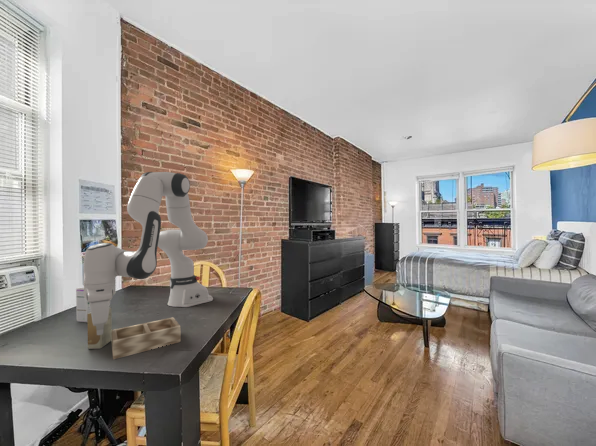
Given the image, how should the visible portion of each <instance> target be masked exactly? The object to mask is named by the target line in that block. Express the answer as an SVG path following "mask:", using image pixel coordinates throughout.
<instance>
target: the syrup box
mask: <svg viewBox="0 0 596 446" xmlns="http://www.w3.org/2000/svg"><path fill="white" fill-rule="evenodd" d="M75 292H76V294H75V295H76V296H75V299H76V300H75V302H76V305H75V306H76V308H75V309H76V322H79V323H80V322H82V323H88V320H87V313H89V312H91V309H90V304H89V302H88V301H87V299H86V298H84V286H81V287H77V288H76V289H75Z"/></svg>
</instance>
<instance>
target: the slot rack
mask: <svg viewBox="0 0 596 446" xmlns="http://www.w3.org/2000/svg"><path fill="white" fill-rule="evenodd" d="M181 330H182V329H181V325H180V324H179V322H178V321H177V320H176V319H175V317H173V316H172V317H167V318H162V319H159V320H158V319H157V320H153V321H148V322H144V323H138V324H135V325H130V326H129V325H128V326H124V327H120V328H119V327H118V328H114V329H112V340H111V352H112V360H118V359H120V358H125V357H128V356H132V355H136V354H140V353H142V352H143V353H144V352H147V351H151V349H152V350H154V349H159V348H162V346H163V347H167V346H171V345H174V344H178V343H181V342H182V341H181V339H182V338H181V336H182V335H181V333H182V331H181ZM170 344H171V345H170ZM166 345H167V346H166ZM158 347H159V348H158Z"/></svg>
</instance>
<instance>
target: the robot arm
mask: <svg viewBox="0 0 596 446" xmlns="http://www.w3.org/2000/svg"><path fill="white" fill-rule="evenodd" d="M190 189H191V182H190V179H189V177H188V176H186V175H185V174H183V173H180V172H177V173H175V172H171V171H147V172H143V173H142V174H141V175H140V177H139V179H138V180H137V182H136V184H135V185H134V187H133V189H132V191H131V193H130V197H129V199H128V202H127V207H126V210H127V214H128V215H129V216H130V218H131V219H133V220H134V221H136V222H138V223H139V224H140V226H141V228H142V231H141V237H140V243H139V246H138V249H137V250H136V251H134V250H125V249H122V248H121V247H117V246H115V245H114V243H111V242H101V243H95V244H92V245H90V246H88V247H87V248H86V250H85V254H84V258H83V273H84V280H83V287H84V298H86V299H87V301H88V302H89V304H90V309H91V316H92V323H93V325H94V326H96V329H97V335H102V334H103V333H104V324H106V323H107V321H108V315H109V307H111V306H110V305H111V300H112V299H113V298H114V297H113V296H114V295H115V294H116V292H117V291H116V287H117V285H116V283H117V282H116V279H117V278H116V277H123V278H124V277H125V278H133V279H136V280H145V279H148V278H149V277H150V276H151V275H153V273H155V271H156V269H157V266H158V265H157V263H158V258H157V257H158V256H157V255H158V248H159V249H160V250H162V252H164V253H165V254H166V256H167V258H168V260H169V264H170V277H169V288H170V293H169V297H168V302H167V305H168V307H169V306H170V307H174V308H175V307H176V308H177V307H180V308H181V307H182V308H189V307H194V306H196V305H197V306H198V305H200V304H204V303H208V302H209V303H210V302H212V301H213V300H214V298H213V296H212V295H211V294H209V291H208V288H207V287H206V286H205V285H203V284H201V283H200V282H198V281H200V280H201V277H200V276H199V275H195V274H194V273H195V272H194V271H195V268H194V267H195V264H194V260H193V259H192V258H191V257H189V256H188V255H185V254H184V252H183V251H196V250H201V249H205V248H206V246H207V244H208V242H209V237H208V234H207V233H206V232H205V230H203V229H201V228H200V227H198V225H197V224H196V223H195V220H194V218H193V215H192V210H191V203H190V197H189V191H190ZM163 197H165V206H166V215H167V220H168V222H169V223H170V224H172V225H174V226H175V227H177V228H179V229H165V230H161V229H162V228H161V227H162V217H161V215H160V213H159V212H160V207H161V203H162V198H163Z"/></svg>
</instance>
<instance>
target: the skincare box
mask: <svg viewBox="0 0 596 446" xmlns="http://www.w3.org/2000/svg"><path fill="white" fill-rule="evenodd" d="M87 320H88V322H87V349H88V350H89V349H90V350H91V349H102V348H103V347H105V346H106V345H107V344H109V343H110V342H112V330H113V329H112V328H113V327H112V325H113V324H112V322H113V321H112V320H113V319H112V306H110V307H109V315H108V321H107V323H106V324H104V333H103V334H102V335H97V329H96V326H94V325H93V323H92V316H91V312H89V313H87Z"/></svg>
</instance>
